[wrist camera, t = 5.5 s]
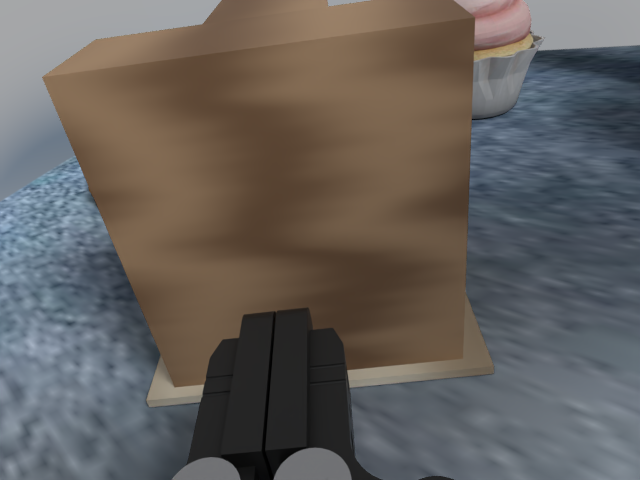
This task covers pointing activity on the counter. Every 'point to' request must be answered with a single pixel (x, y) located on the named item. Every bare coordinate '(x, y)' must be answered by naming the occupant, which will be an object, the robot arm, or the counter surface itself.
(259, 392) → the robot arm
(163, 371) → the board
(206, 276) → the t block
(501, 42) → the cupcake
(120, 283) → the counter surface
